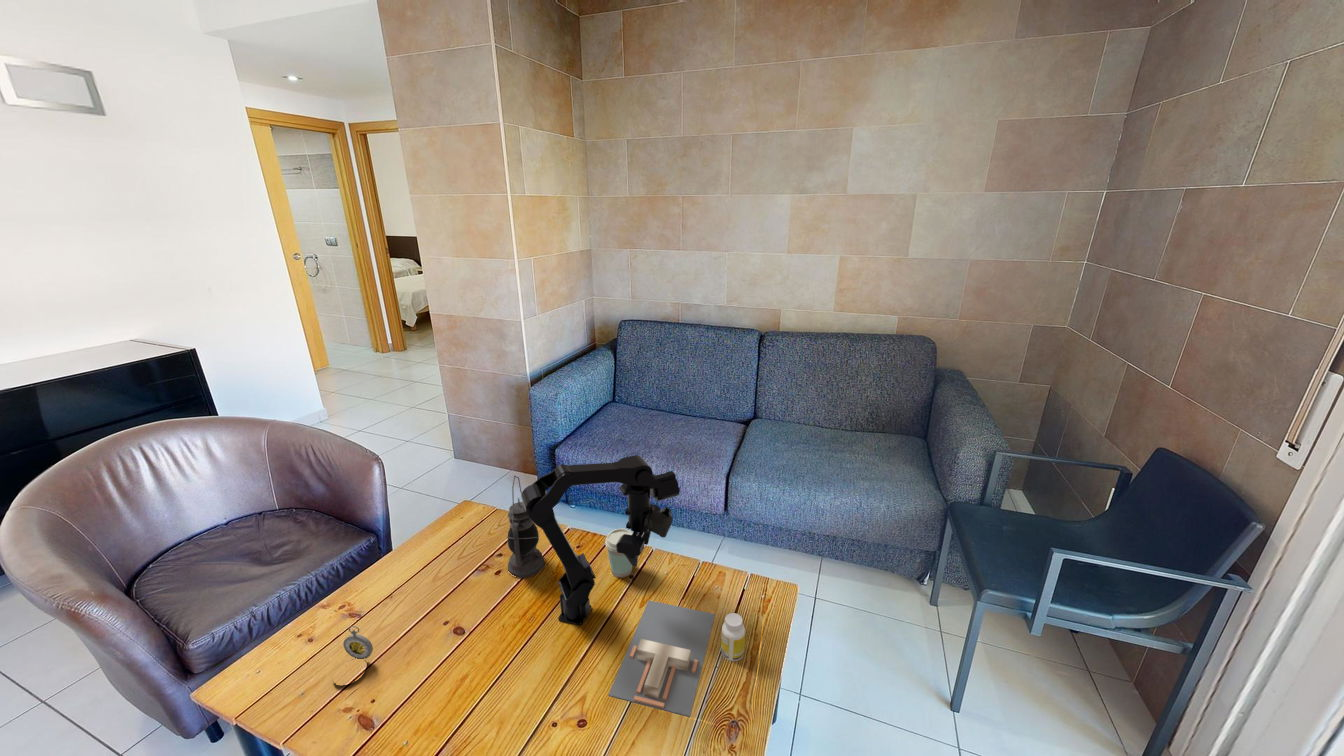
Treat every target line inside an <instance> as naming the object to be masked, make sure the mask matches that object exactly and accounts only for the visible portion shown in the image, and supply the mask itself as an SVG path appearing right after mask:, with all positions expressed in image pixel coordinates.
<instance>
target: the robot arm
mask: <svg viewBox="0 0 1344 756" xmlns="http://www.w3.org/2000/svg"><path fill="white" fill-rule="evenodd" d="M676 476H677V475H676V473H675V471H673V470H671V471H667V472H664V473H661V474H656V475H655V474H654V473H653V469H652V467H651V466H650V465H649V464H648V463H647V462H646V461H645V459H644V458H643V457H641V456H640V455H636V454H635V455H629V456H625V457H622V458H620V459H618V460H617V461H613V462H603V463H602V462H601V463H585V464H583V463H582V464H568V465H567V464H560V465H557V466H556V467H555V468H554V469H553V470H552V471H550V472H548V473H546V474H544V475H541V476H540V477H539V478H537V479H536V480H535V481H534V482H533V483H531V484H530V485H528V486H527V487H525V488H524V489H523V490H522V494H521V493H520V494H521V496H520V499H521V502H523V505H524V508H525V511H526V514H527V516H528V517H529V518H530V519H531V520H532V521H533V523H534V524H535V525H536V527H538V528H540V529H541V530H542V531H543V533H544V536H546V538H547V539H548V540H547V541H548V542H549V543H550V545H551V547H552V549H553V550H554V552H555V554H556V555H557V558H558V559H559V560H560V562H561V564H562V565H563V566H562V567H563V569H564V573H563V574H562V576H561V577H560V578H559V579H558V581H557V583H558V585H559V586H558V587H559V589H560V591H561V593H560V595H559V604H560V614H559V615H558V621H560V622H563V623H568V624H569V623H570V624H573V625H578V626H583V625H582V624H583V623H584V622H585V620H586V618H587V617H588V615H589V614H590V612H591V609H592V605H591V604H590V603H591V602H590V598H589V597H590V595H591V594H590V593H591V591H592V590H593V589H594V586H595V585H596V583H595V579H596V575H595V572H594V570H593V568H592V566H591V563H590V562H589V561H588V560H587V558H586V555H585V554H584V552H582V553H581V554H579V555H578V554H577V553H576V552H575V550H574V549H573V547H572V545H571V543H570V542H569V540H568V538H567V536H566V535H565V533H564V531H563V529H562V528H561V526H560V524H559V522H558V520H557V519H556V515H555V511H554V507H555V506H556V505H558V504H559V502H560V501H561V499H562V497H563V496H564V495H565V493H566V492H567V490H568V489H570V488H571V487H573V486H582V485H583V486H585V485H586V486H587V485H598V484H608V483H609V484H610V483H611V484H612V483H619V484H621V485H620V486H619V487H618V489H619V491H620V493H622V496H624V497H625V496H627V507H626V510H625V515H627V520H628V521H627V523H625V529H628V530H630V531H631V532H632V533H633V534H632V535H628V534H624V535H622V536H621V537H620V539H619V541H618V542H617V544H616V551H617V552H618V553H623V554H624V555H625V556H626V557H627V559H628V560H629V562H630V563H631V565H632V568H633V567H634V568H637V567H638V562H639V556H641V554H642V553H643V551H644V549H645V545H646V546H647V545H648V544H649V541H650V538H651V534H652V533H654V534H655V535H658V536H659V537H661V538H663V539H664V538H666V537H667V535H668V533H669V531H670V528H671V526H672V523H673V522H674V521H673V520H674V518H673V515H672V509H671V508H670V507H668V506H666V507H664V508H661V507H660V506H659V505H658V504H653V503H651V498H652V499H655V501H657V502H661V501H665V500H667V499H672V498H675V497H679V495H680V490H681V489H680V486H679V482H678V480H677V477H676ZM548 489H549V490H548ZM547 490H548V491H547Z"/></svg>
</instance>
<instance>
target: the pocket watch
mask: <svg viewBox="0 0 1344 756" xmlns="http://www.w3.org/2000/svg"><path fill="white" fill-rule="evenodd" d="M351 628H356V629H357V631H356V630H355V629H353V630H352V631H351ZM348 631H349V632H350V634H351V635H348V636H347V637H346V638H345V639H343V643H342V644H343V648H344V650H345V652H346V653H347V654H348V655H349V656H351V657H352V658H353V659H356V658H357V659H364V658H365V660H366V659H368V658H369V657H370V656H371V655H372V653H373V650H374V646H373V643H372V642H371V641H370V640H369V639H368V638H367V637H366V636H364V635H360V634H357V633H360V628H359V627H358V626H356V625H351V626H349V627H348Z"/></svg>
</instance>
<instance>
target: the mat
mask: <svg viewBox="0 0 1344 756" xmlns="http://www.w3.org/2000/svg"><path fill="white" fill-rule="evenodd" d="M715 616H716V614H715V613H712V612H706V611H703V610H698V609H692V608H688V607H683V606H678V605H673V604H669V603H663V602H659V601H655V600H654V601H653V600H650V599H649V600H647V603H646V606H645V607H644V610H643V613H642V615H641V617H640V620H639V622H638V624H637V627H636V628H635V631H634V633H633V635H632V638H631V641H630V643H629V646H628V648H627V651H626V653H625V655H624V657H623V659H622V661H621V665H620V667H619V669H618V671H617V674H616V676H615V678H614V681H613V683H612V685H611V688H610V690H609V693H608V694H607V696H608V697H611V698H614V699H618V700H621V701H625V702H629V703H633V704H637V705H641V706H644V707H648V708H651V709H654V710H655V709H656V710H659V711H664V712H667V713H670V714H674V715H679V716H682V717H687V718H689V719H690V718H691V714H692V710H693V706H694V703H695V702H694V701H695V697H696V694H697V690H698V686H699V682H700V677H701V673H702V668H703V665H704V661H705V656H706V655H707V654H706V653H707V649H708V646H709V642H710V641H709V640H710V637H711V632H712V629H713V625H714V620H715ZM641 639H644V640H648V641H653V642H657V643H662V644H666V645H670V646H675V647H679V648H684V649H688V650H691V661H690V664H689V668H688V671H685V670H680V669H676V667H675V666H672V667H668V669H667V673H666V676H665V679H664V682H663V685H662V688H661V691H660V694H659V698H654V697H650V696H646V695H645V682H646V679H647V676H648V673H649V671H650V668H651V665H652V663H651V661H650V660H648V661H643V660H638V659H637V648H638V645H639V643H640V640H641Z"/></svg>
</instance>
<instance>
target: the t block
mask: <svg viewBox="0 0 1344 756" xmlns="http://www.w3.org/2000/svg"><path fill="white" fill-rule="evenodd" d="M637 659H638V660H643V661H648V660H650V661H651V663H652V665H651V668H650V671H649V673H648V676H647V679H646V682H645V695H646V696H650V697H654V698H659V694H660V691H661V688H662V685H663V682H664V679H665V676H666V673H667V669H668V667H672V666H675V667H676V669H680V670H685V671H688V668H689V664H690V661H691V650H688V649H684V648H679V647H675V646H670V645H666V644H662V643H657V642H653V641H648V640H644V639H641V640H640V643H639V645H638V648H637Z"/></svg>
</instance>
